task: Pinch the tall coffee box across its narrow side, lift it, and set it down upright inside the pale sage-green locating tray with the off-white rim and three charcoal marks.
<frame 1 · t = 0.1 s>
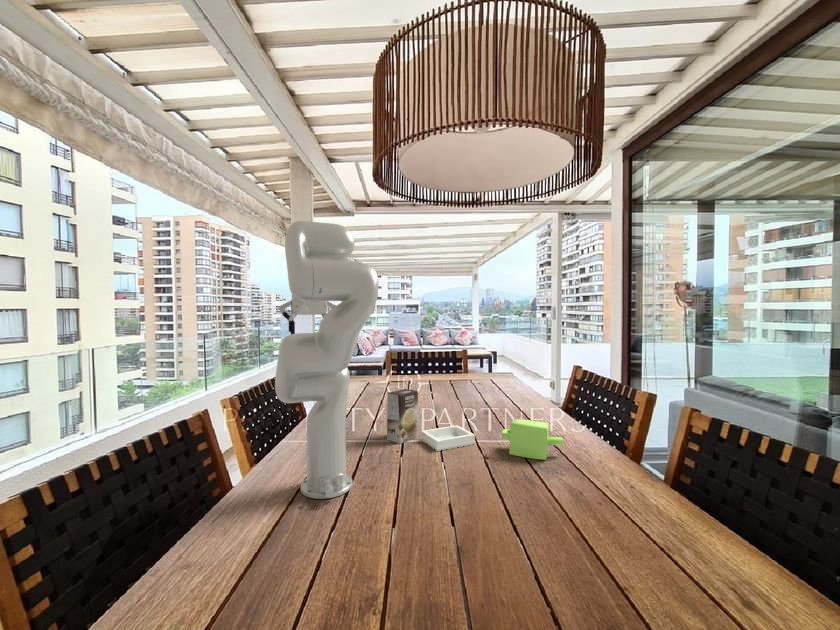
hand: (309, 333, 116), 37 cm above the table, tool pointing down, fingers open, 9 cm apart
coffee box: (402, 439, 131), on the table
locating tray: (447, 442, 127), on the table
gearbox: (532, 453, 119), on the table
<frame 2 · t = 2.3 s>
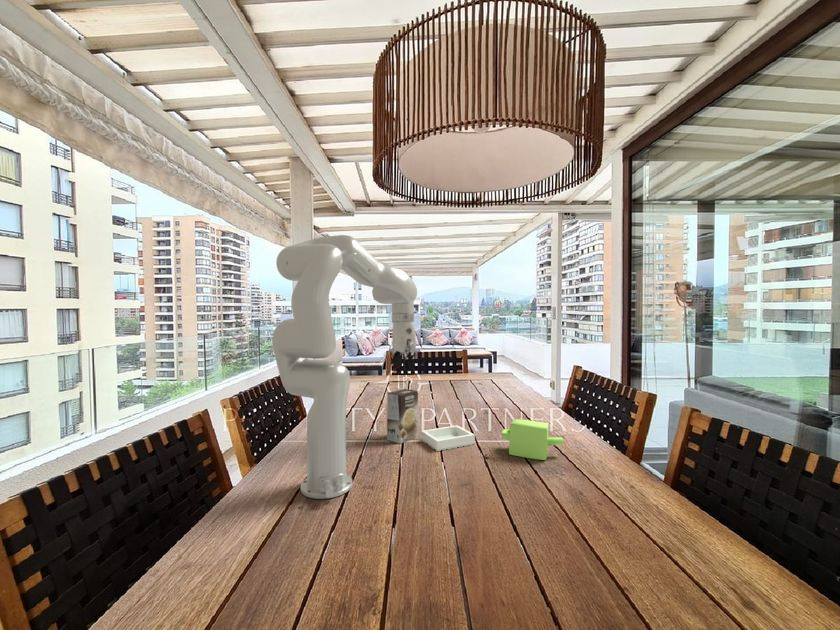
hand: (403, 368, 131), 24 cm above the table, tool pointing down, fingers open, 9 cm apart
nothing on the table moved.
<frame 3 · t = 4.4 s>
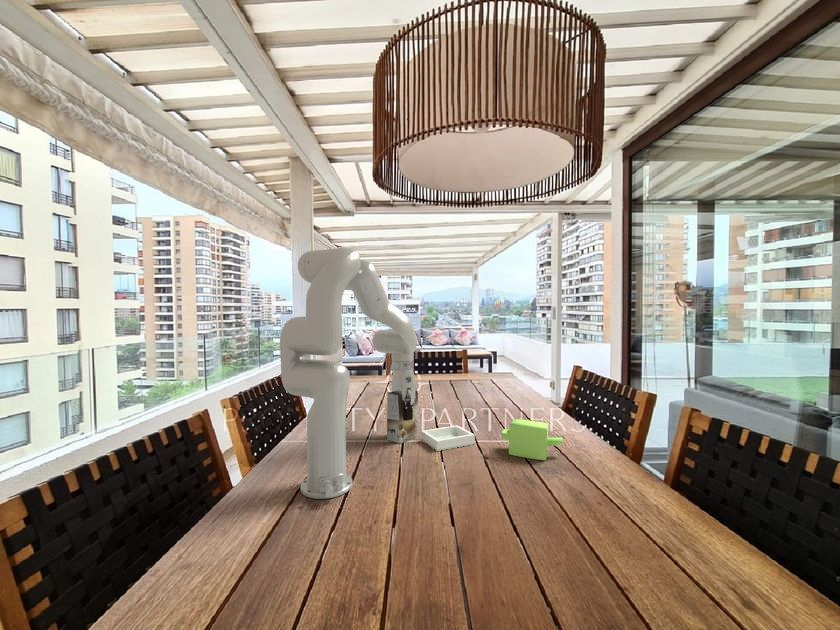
hand: (402, 416, 131), 8 cm above the table, tool pointing down, fingers closed on coffee box, 8 cm apart
coffee box: (402, 438, 131), on the table, touching gripper
everything else where it was.
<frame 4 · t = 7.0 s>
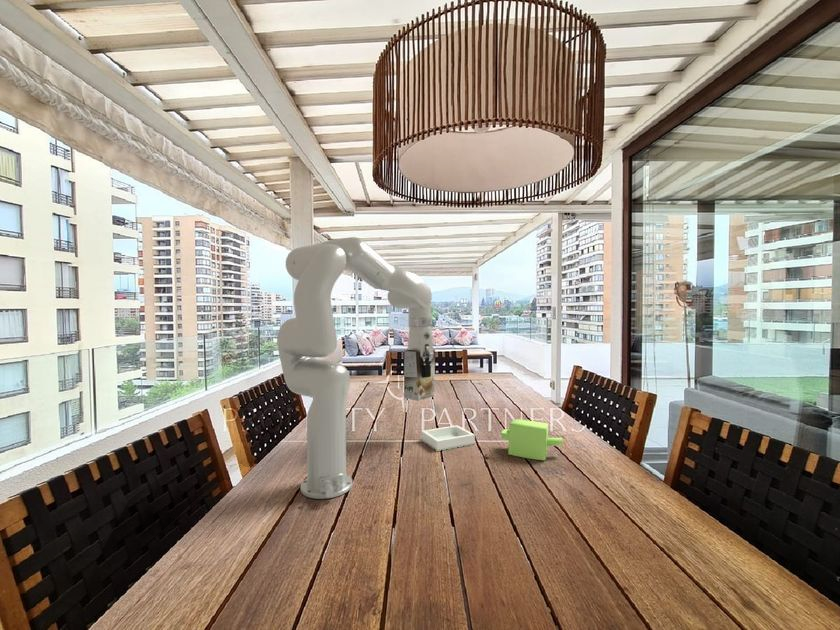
hand: (419, 374, 129), 22 cm above the table, tool pointing down, fingers closed on coffee box, 8 cm apart
coffee box: (419, 397, 129), point 14 cm above the table, touching gripper
everything else where it was.
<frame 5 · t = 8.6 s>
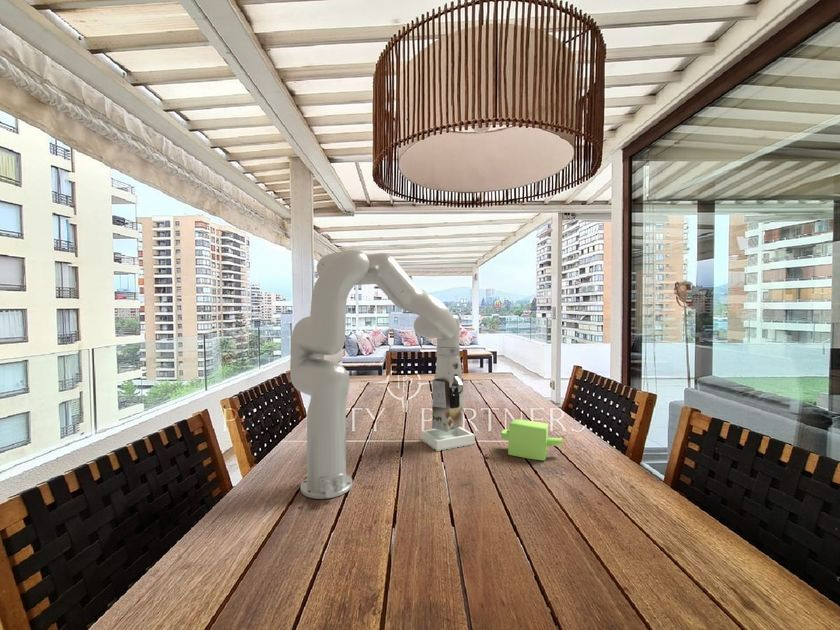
hand: (447, 404, 127), 13 cm above the table, tool pointing down, fingers closed on coffee box, 8 cm apart
coffee box: (447, 427, 127), point 5 cm above the table, touching gripper
everything else where it was.
when the fingers open (9 cm above the table, at t = 9.9 s): coffee box drops 1 cm, resting on locating tray.
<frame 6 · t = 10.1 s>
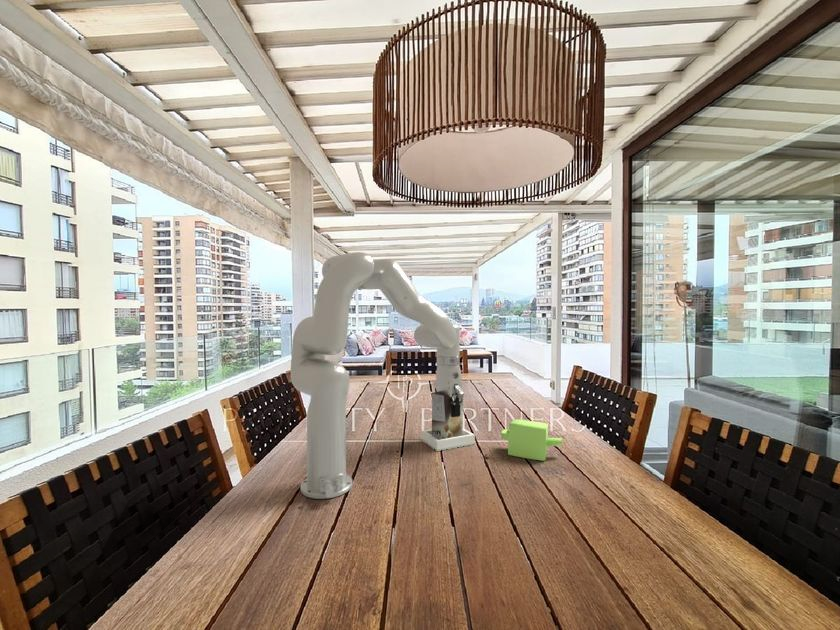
hand: (447, 412, 127), 10 cm above the table, tool pointing down, fingers open, 9 cm apart
coffee box: (447, 440, 127), point 1 cm above the table, touching locating tray
everything else where it was.
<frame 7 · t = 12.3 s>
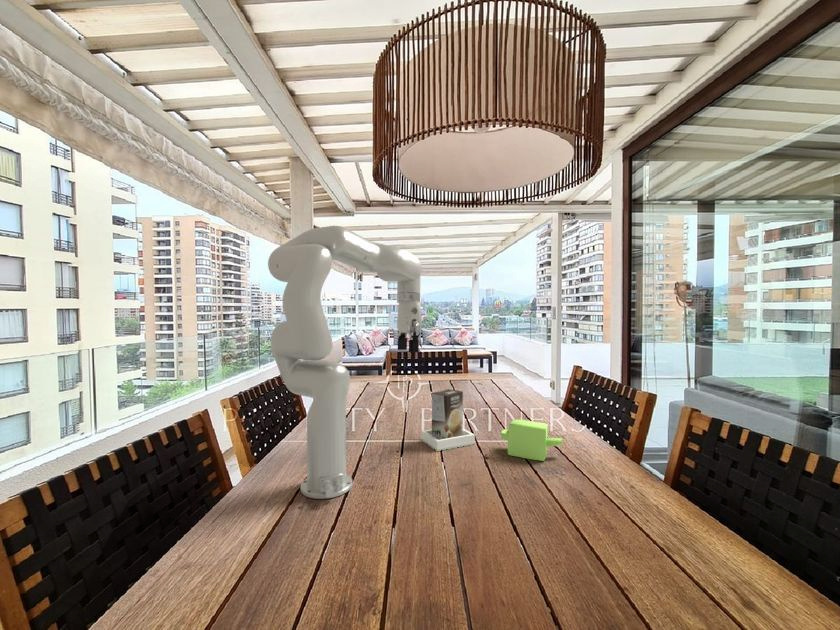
hand: (407, 351, 126), 30 cm above the table, tool pointing down, fingers open, 9 cm apart
nothing on the table moved.
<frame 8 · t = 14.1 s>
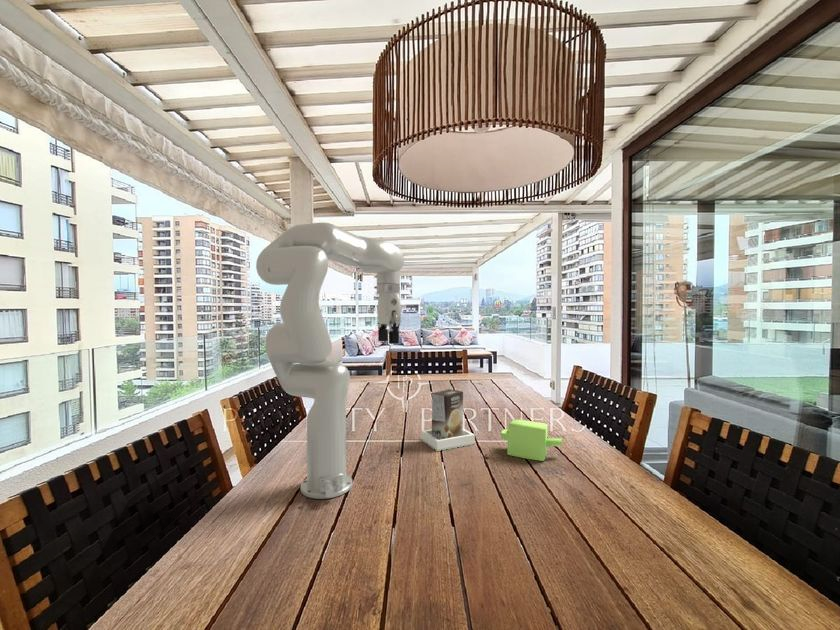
hand: (388, 342, 126), 33 cm above the table, tool pointing down, fingers open, 9 cm apart
nothing on the table moved.
at the end: coffee box 0.2 cm off-centre on the locating tray, point 0.5 cm above the locating tray's base; coffee box tilted 0°; the gripper is holding nothing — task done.
